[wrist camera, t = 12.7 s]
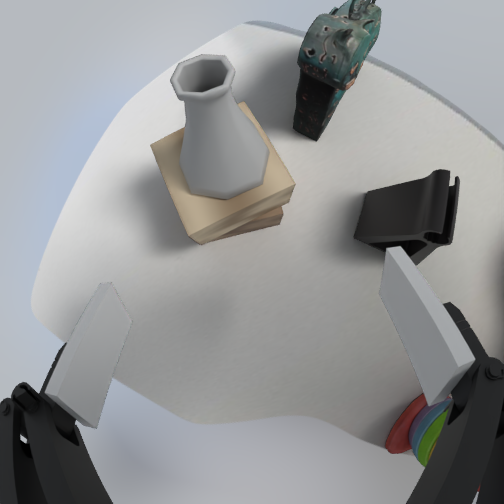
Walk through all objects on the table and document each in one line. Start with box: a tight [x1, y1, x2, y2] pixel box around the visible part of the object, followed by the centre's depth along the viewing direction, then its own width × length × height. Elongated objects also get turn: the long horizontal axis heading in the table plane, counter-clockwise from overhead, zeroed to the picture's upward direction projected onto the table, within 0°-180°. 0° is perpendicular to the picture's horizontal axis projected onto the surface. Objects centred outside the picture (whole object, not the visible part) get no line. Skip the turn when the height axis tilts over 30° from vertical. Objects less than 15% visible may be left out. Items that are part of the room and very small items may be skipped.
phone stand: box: [354, 169, 460, 266], centre depth 24 cm, size 9×6×12 cm, turn 68°
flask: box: [170, 54, 270, 200], centre depth 16 cm, size 7×7×10 cm
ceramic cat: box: [293, 0, 381, 141], centre depth 22 cm, size 20×6×20 cm, turn 149°
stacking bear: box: [385, 394, 481, 492], centre depth 18 cm, size 11×10×18 cm
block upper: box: [150, 101, 295, 245], centre depth 23 cm, size 9×9×5 cm
